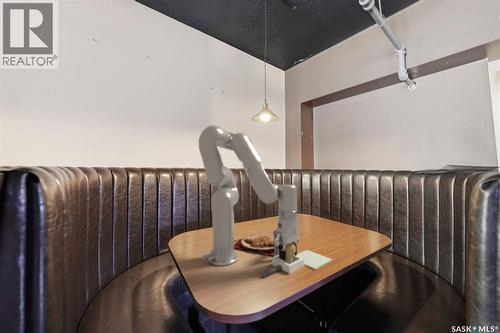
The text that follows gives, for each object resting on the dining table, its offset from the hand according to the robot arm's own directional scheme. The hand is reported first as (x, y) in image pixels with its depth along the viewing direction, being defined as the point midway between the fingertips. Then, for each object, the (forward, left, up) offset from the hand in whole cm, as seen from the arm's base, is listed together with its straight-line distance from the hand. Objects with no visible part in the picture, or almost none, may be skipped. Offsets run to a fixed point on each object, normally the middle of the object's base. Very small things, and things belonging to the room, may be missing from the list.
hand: (288, 256), depth 81 cm
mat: (+12, -3, -4) cm, 13 cm away
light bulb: (0, 0, -4) cm, 4 cm away
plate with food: (+8, +24, -5) cm, 26 cm away
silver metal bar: (+6, +8, +7) cm, 13 cm away
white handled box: (-5, +1, -4) cm, 6 cm away
